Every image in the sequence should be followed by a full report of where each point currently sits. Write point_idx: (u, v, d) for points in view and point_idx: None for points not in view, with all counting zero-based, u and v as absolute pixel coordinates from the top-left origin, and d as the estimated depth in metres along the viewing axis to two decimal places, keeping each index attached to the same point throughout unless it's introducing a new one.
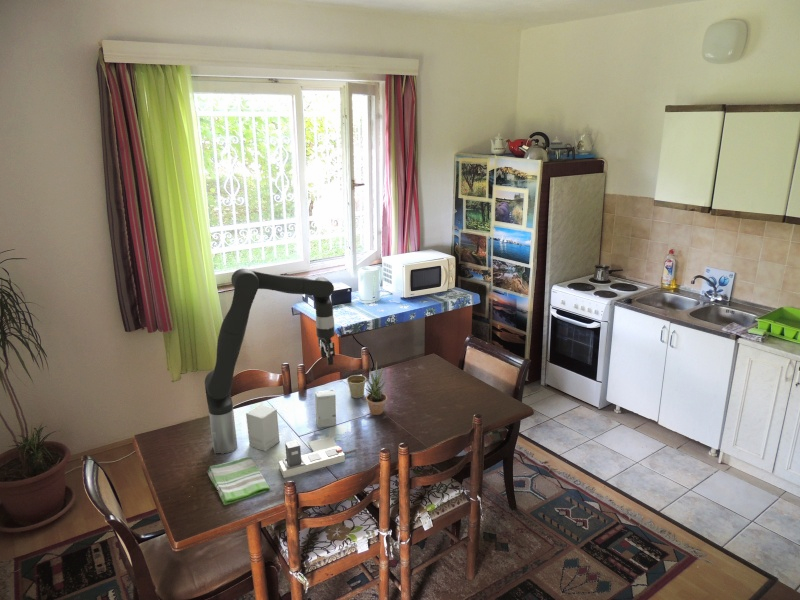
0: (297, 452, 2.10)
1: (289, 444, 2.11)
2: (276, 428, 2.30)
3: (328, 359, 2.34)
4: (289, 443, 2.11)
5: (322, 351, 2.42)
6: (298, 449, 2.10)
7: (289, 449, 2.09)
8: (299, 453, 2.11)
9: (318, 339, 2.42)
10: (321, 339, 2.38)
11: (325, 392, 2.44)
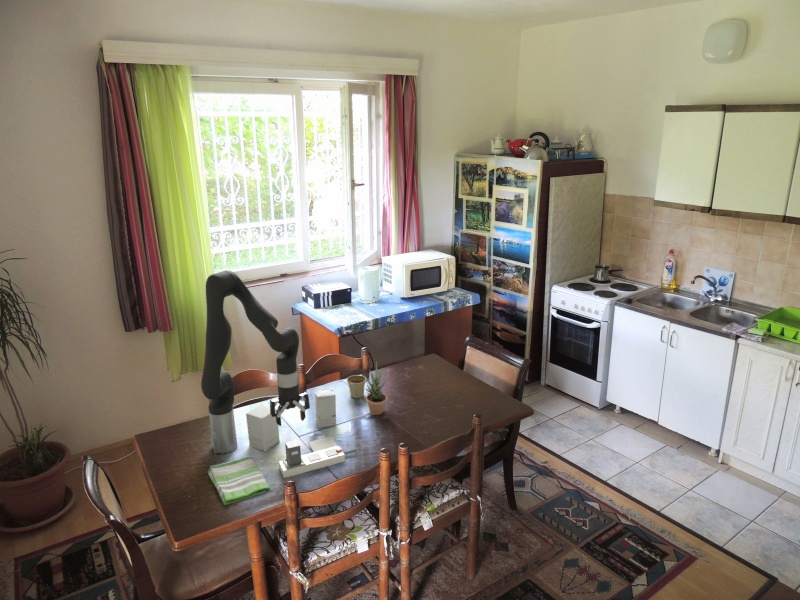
0: (297, 452, 2.10)
1: (289, 444, 2.11)
2: (276, 428, 2.30)
3: (303, 413, 2.09)
4: (289, 443, 2.11)
5: None
6: (298, 449, 2.10)
7: (289, 449, 2.09)
8: (299, 453, 2.11)
9: (272, 408, 2.02)
10: (283, 402, 2.04)
11: (325, 392, 2.44)
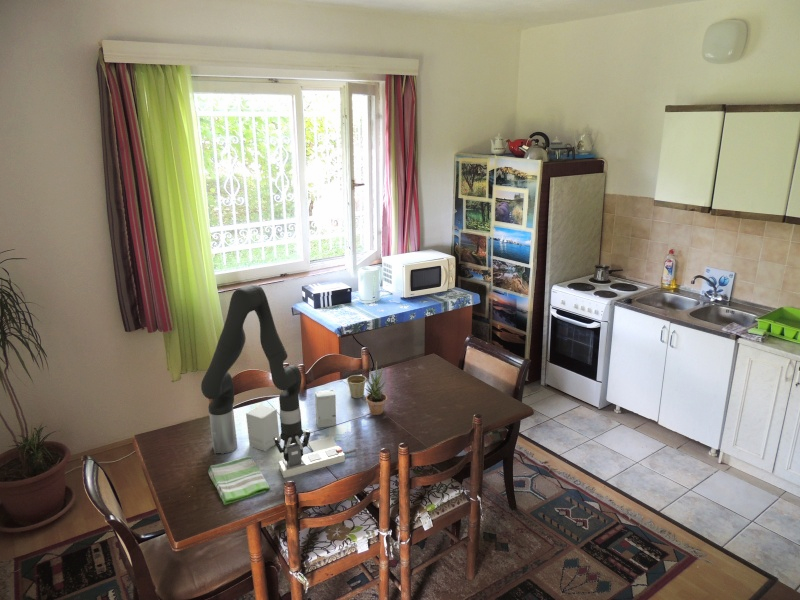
0: (297, 452, 2.10)
1: None
2: (276, 428, 2.30)
3: (301, 451, 2.13)
4: None
5: None
6: (298, 449, 2.10)
7: (289, 449, 2.08)
8: (299, 453, 2.11)
9: (277, 446, 2.07)
10: (285, 439, 2.08)
11: (325, 392, 2.44)
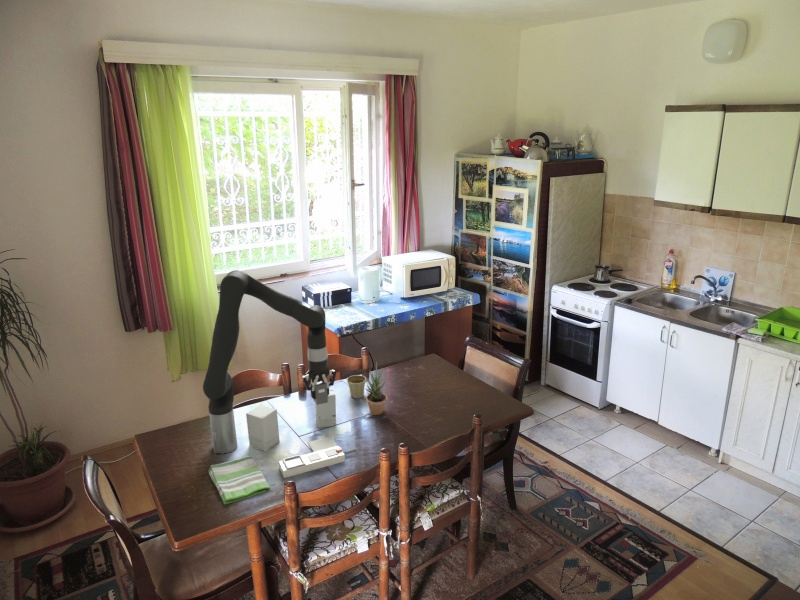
0: (324, 390, 2.20)
1: None
2: (276, 428, 2.30)
3: (327, 390, 2.22)
4: None
5: None
6: (325, 387, 2.20)
7: (316, 387, 2.18)
8: (326, 391, 2.20)
9: (305, 383, 2.17)
10: (313, 377, 2.18)
11: None
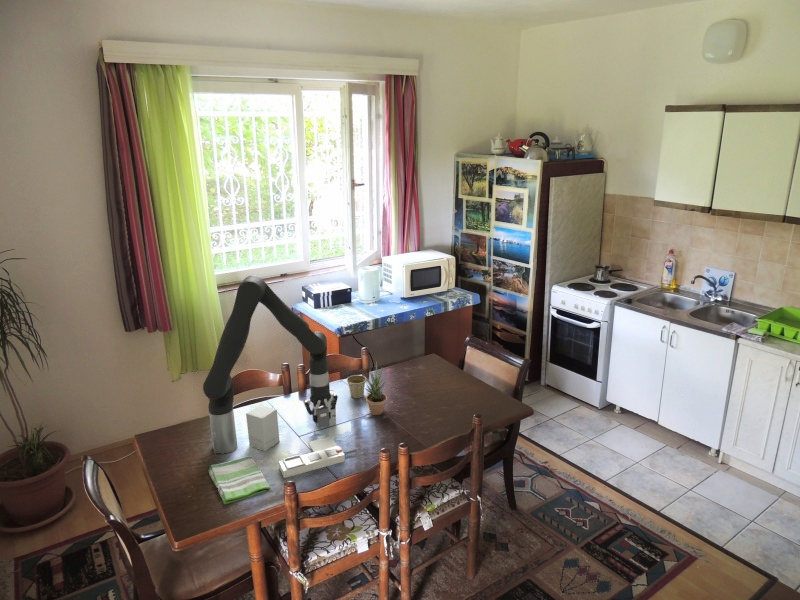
0: (325, 414, 2.23)
1: None
2: (276, 428, 2.30)
3: (329, 414, 2.26)
4: None
5: None
6: (326, 411, 2.23)
7: (318, 411, 2.22)
8: (327, 415, 2.24)
9: (307, 408, 2.20)
10: (315, 402, 2.21)
11: None
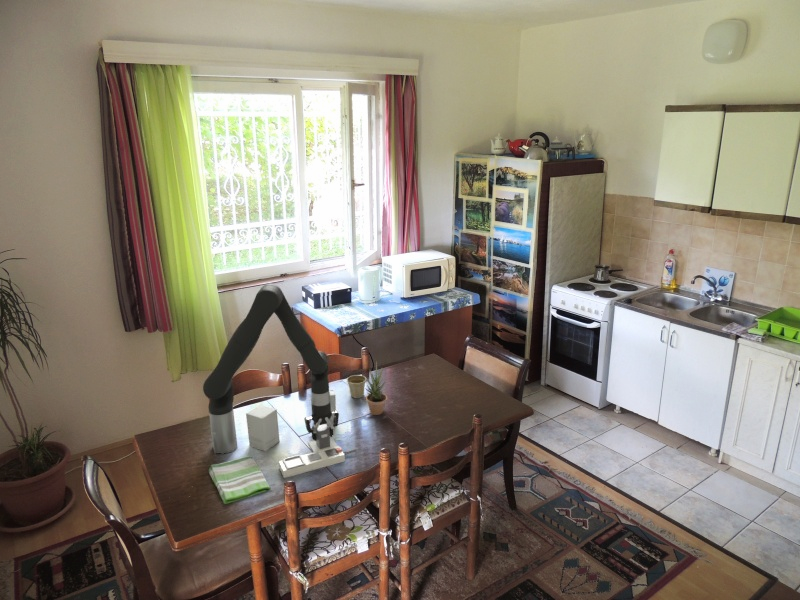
0: (326, 435, 2.26)
1: (319, 428, 2.27)
2: (276, 428, 2.30)
3: (332, 430, 2.28)
4: (319, 427, 2.27)
5: None
6: (327, 432, 2.26)
7: (319, 432, 2.24)
8: (328, 436, 2.27)
9: (307, 426, 2.23)
10: (316, 420, 2.24)
11: None
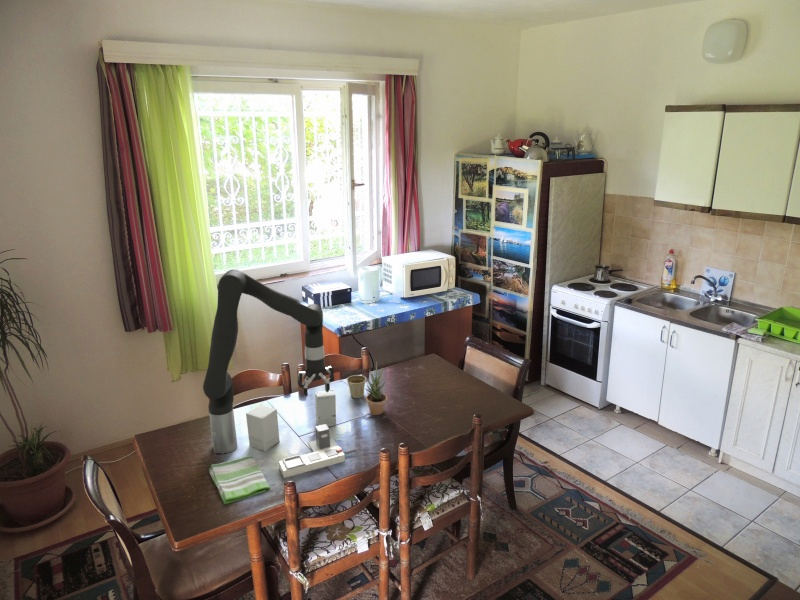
0: (326, 435, 2.26)
1: (319, 428, 2.27)
2: (276, 428, 2.30)
3: (328, 385, 2.24)
4: (319, 427, 2.27)
5: None
6: (327, 432, 2.26)
7: (319, 432, 2.24)
8: (328, 436, 2.27)
9: (300, 379, 2.17)
10: (309, 374, 2.19)
11: (325, 392, 2.44)
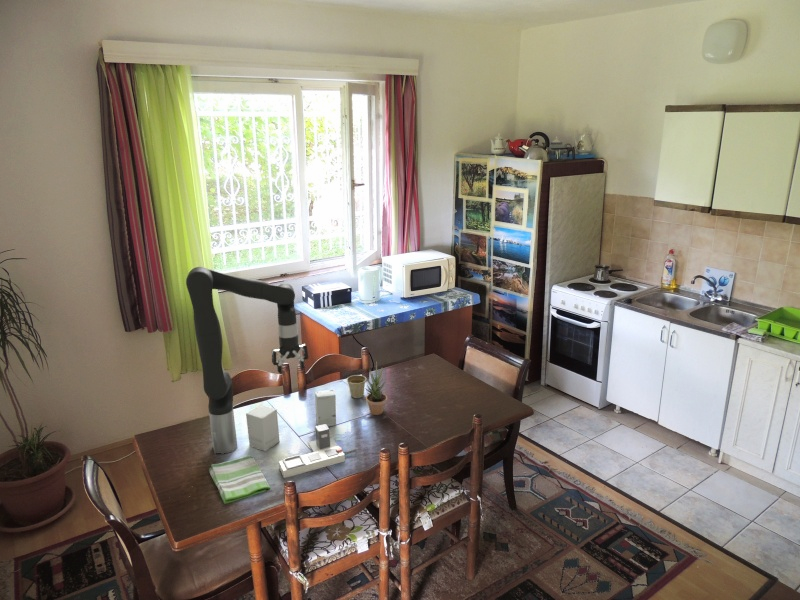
0: (326, 435, 2.26)
1: (319, 428, 2.27)
2: (276, 428, 2.30)
3: (302, 363, 2.28)
4: (319, 427, 2.27)
5: None
6: (327, 432, 2.26)
7: (319, 432, 2.24)
8: (328, 436, 2.27)
9: (274, 357, 2.22)
10: (283, 352, 2.23)
11: (325, 392, 2.44)
